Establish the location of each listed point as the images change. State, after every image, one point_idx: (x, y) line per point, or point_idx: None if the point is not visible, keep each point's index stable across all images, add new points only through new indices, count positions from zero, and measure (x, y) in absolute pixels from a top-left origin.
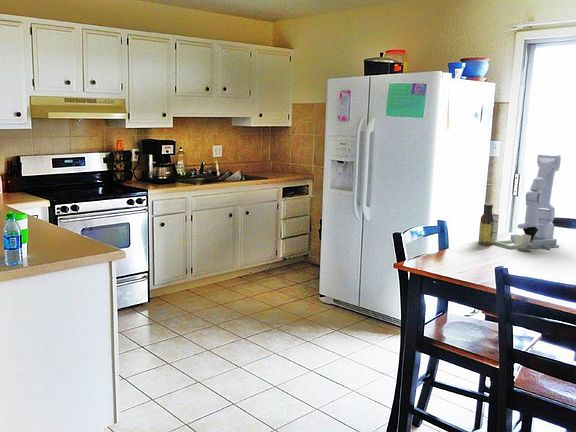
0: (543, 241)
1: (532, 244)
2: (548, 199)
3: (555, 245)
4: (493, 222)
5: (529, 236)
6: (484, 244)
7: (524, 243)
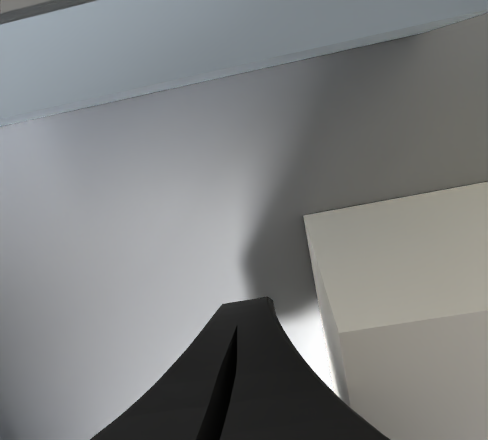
0: (52, 20)
1: None
2: None
3: None
4: None
5: (406, 304)
6: None
7: (486, 202)
